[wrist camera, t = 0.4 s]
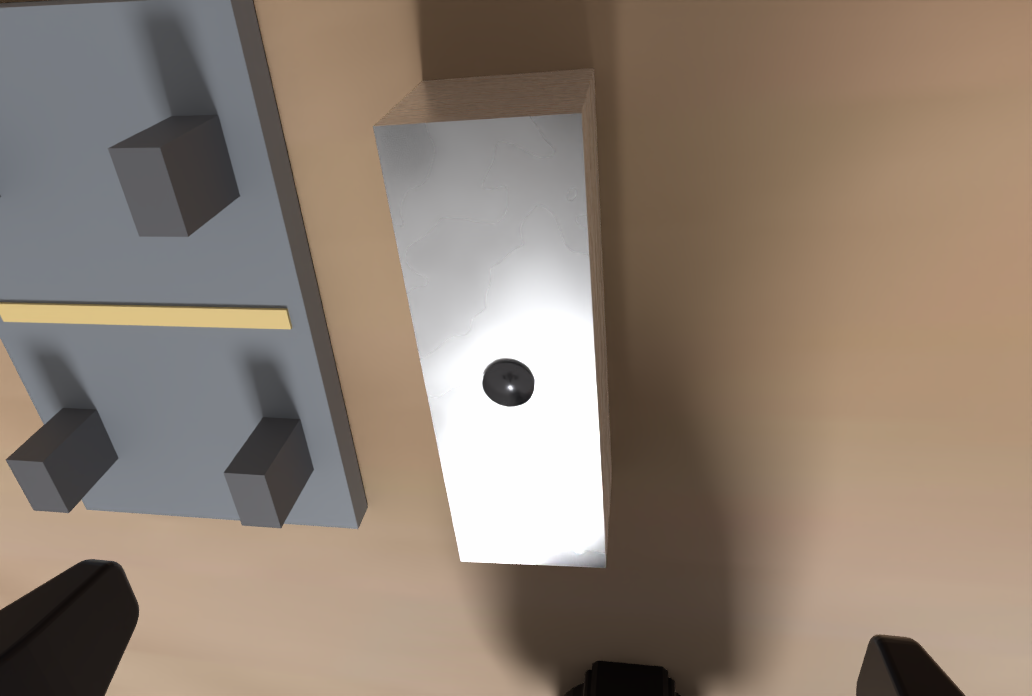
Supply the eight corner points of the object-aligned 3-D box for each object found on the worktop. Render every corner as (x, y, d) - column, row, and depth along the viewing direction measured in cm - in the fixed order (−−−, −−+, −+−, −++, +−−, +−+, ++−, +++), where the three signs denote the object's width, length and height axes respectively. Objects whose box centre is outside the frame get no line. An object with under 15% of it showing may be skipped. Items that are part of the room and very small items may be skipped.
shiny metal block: (612, 467, 23) (606, 571, 20) (487, 465, 24) (460, 563, 20) (594, 65, 17) (580, 114, 13) (425, 78, 18) (371, 127, 14)
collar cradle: (367, 507, 25) (331, 589, 22) (104, 490, 27) (37, 564, 24) (250, -10, 17) (166, 14, 14) (-126, 9, 18) (-271, 35, 15)
